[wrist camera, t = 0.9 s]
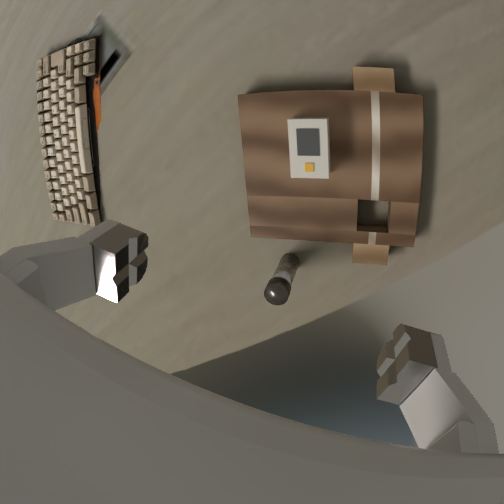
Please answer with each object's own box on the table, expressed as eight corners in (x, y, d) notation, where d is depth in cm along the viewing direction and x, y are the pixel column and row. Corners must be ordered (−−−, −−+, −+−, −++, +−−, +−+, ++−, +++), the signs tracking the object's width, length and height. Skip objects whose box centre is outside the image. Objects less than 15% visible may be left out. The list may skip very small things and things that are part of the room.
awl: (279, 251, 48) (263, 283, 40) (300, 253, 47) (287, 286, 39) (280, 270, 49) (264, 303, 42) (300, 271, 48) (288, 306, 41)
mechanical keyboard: (117, 226, 57) (106, 233, 54) (59, 217, 62) (49, 223, 59) (104, 31, 39) (90, 30, 36) (43, 56, 44) (31, 57, 41)
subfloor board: (242, 74, 37) (235, 72, 35) (417, 73, 30) (421, 71, 28) (257, 248, 49) (252, 255, 46) (408, 258, 42) (410, 266, 39)
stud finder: (292, 118, 36) (287, 119, 33) (328, 117, 34) (326, 119, 32) (295, 172, 39) (290, 178, 36) (330, 172, 37) (328, 179, 35)
